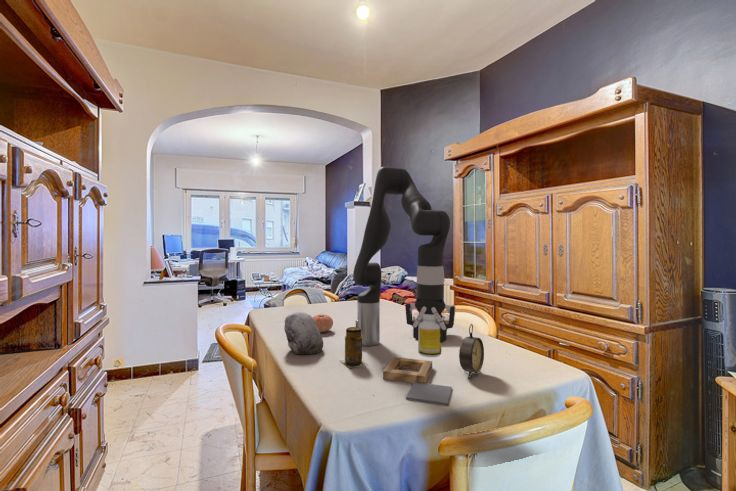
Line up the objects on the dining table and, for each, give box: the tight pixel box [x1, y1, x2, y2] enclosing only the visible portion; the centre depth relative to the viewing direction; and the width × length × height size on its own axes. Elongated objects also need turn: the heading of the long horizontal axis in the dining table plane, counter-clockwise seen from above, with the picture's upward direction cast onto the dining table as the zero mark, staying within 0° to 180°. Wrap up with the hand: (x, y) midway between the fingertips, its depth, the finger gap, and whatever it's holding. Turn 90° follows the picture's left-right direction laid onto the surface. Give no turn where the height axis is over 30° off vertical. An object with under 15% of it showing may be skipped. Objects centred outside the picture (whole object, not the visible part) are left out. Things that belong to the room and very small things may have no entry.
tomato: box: [311, 314, 334, 334], centre depth 169 cm, size 11×11×8 cm
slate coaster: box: [405, 382, 453, 406], centre depth 103 cm, size 11×11×1 cm
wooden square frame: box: [382, 356, 433, 384], centre depth 118 cm, size 13×14×2 cm
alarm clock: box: [458, 323, 485, 380], centre depth 117 cm, size 11×5×16 cm, turn 143°
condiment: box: [340, 326, 369, 369], centre depth 127 cm, size 7×8×12 cm
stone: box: [283, 311, 324, 355], centre depth 140 cm, size 12×15×15 cm
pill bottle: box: [417, 314, 442, 358], centre depth 102 cm, size 6×6×12 cm
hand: (429, 341), depth 102 cm, fingers closed on pill bottle, 6 cm apart
